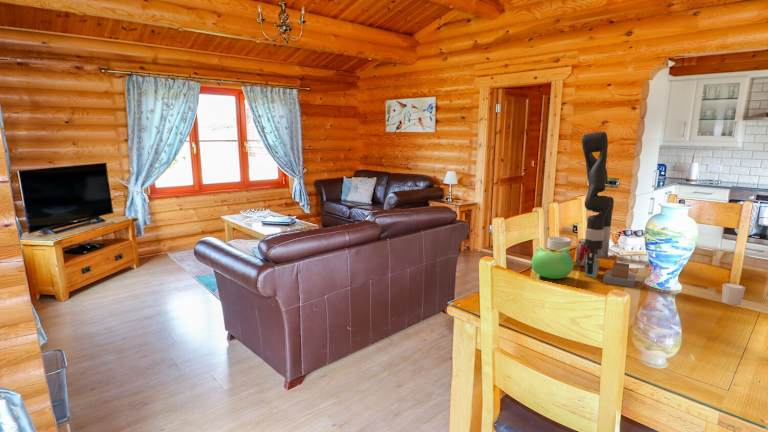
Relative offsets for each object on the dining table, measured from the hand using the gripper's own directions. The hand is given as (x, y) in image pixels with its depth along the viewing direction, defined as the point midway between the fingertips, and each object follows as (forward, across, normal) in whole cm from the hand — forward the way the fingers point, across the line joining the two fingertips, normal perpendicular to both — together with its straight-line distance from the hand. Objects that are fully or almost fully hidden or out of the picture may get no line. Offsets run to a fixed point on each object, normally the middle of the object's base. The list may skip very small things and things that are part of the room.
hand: (591, 271), depth 197 cm
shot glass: (+2, +7, +51) cm, 52 cm away
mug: (+2, -13, -18) cm, 22 cm away
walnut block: (-1, +3, +12) cm, 12 cm away
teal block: (+2, 0, 0) cm, 2 cm away
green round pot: (+2, +14, -15) cm, 20 cm away
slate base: (+2, +3, +12) cm, 13 cm away
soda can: (+2, -16, -6) cm, 17 cm away
